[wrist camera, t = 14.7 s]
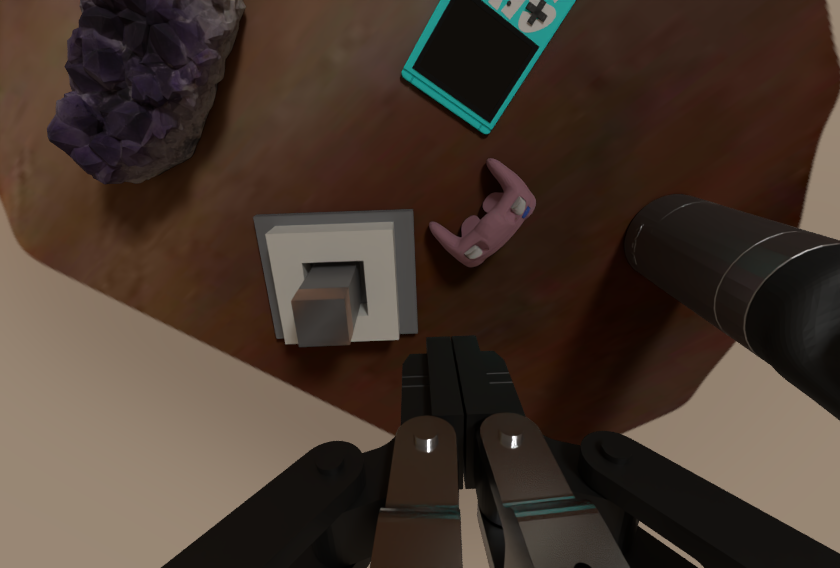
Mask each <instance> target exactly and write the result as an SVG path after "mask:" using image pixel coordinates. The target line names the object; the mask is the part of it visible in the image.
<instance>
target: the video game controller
mask: <svg viewBox="0 0 840 568" xmlns="http://www.w3.org/2000/svg"><path fill="white" fill-rule="evenodd" d="M486 164H487V167H488V169H489V170H490V172H491V173H492V174H493V176H494V177H495V178H496V179H497V181H498V182H499V183H500V185H501V187H502V189H503V191H504V193H499V192H494V193H491V194H490V195H488V196H487V198H486V199H485V201H484V203H483V209H484V211H486V213H487V214H486V215H485V216H484V217H483V218H482V219H481V220H480V219H479V218H478V217H477V216H471V217H469V218H467V219H466V220H465V221H464V222H463V224H462V227H461V231H462V237H458V236H455V235H454V234H452V233H451V232H450V231H448V230H447V229H446V228H444V227H443V226H441V225H440V224H438V223H436V222H430V224H429V228H430V230H431V232H432V234H433V235H434V236H435V238H436V239H437V240H438V241H439V242H440V244H441V245H442V246H443V247H444V248H445V249H446V250H447V251H448V252H449V253H450V254H451V255H452V256H453V257H455V258H456V259H457V260H458V261H459V262H461V263H462V264H464V265H465V266H467V267H475V266H478V265H480V264H481V263H482V262H483V261H484V260H485V259H486V258H487V257H489V256H490V255H492V254H493V253H495V252H496V251H497V250H498V249H499V248H501V247H502V246H503V245H504V244H505V243H506V242H507V241H508V240H509V239H510V238H511V237H512V236H513V235H514V233H515V232H516V231H517V230H518V228H519V227H520V226H521V224H522V223H523V221H524V220H525V219H527V218H528V217H529V216H530V215H531V214H532V212H533V210H534V208H535V205H536V200H535V197H534V196H533V194H532V193H531V192H530V190H529V189H528V187H527V186H526V184H525V183H524V182H523V181H522V179H521V178H520V177H519V176H518V175H517V174H515V173H514V172H513V171H511V170H510V169H509V168H507V167H506V166H505V165H503V164H502V163H501V162H499V161H497V160H495V159H492V158H489V159H487V161H486Z"/></svg>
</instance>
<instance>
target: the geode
mask: <svg viewBox="0 0 840 568" xmlns="http://www.w3.org/2000/svg"><path fill="white" fill-rule="evenodd" d="M80 8H81V11H82V15H81V17H80V19H79V28H77V29H74V30H73V32H72V36H71V37H70V38H69V39H68V40H67V45H68V61H67V63H66V65H65V68H66V70H67V72H68V74H69V78H70V86H71V89H72V92H69V93H66V94H64V98H62V99H61V100H57V102H56V115H55V116H54V118H53V120H52V121H51V123H50V124H49V126H48V128H47V133H48V138H49V141H50V142H52V143H53V144H54V145H56V146H57V147H59V148H60V149H62V150H63V151H64V152H65V153H67V154H68V155H69V156H70V157H71V158H72V159H73V160H74V161H75V162H76V163H77V164H78V165H79V166H80V167H81V168H82V169H83V170H84V171H85V172H86V173H87V174H90V175H92V176H93V178H94V179H96V180H98V181H100V182H102V183H103V184H119V183H123V182H124V181H125V182H132V183H135V184H136V183H142V182H143V181H145V180H146V179H147V180H149V179H150V178H151V177H155V176H157V175H160V174H162V173H163V172H165V171H167V170H168V169H170V168H172V167H174V166H175V165H177V164H180V163H182V162H184V161H186V160H187V159H189V158H190V157H192V155H193V154H194V151H195V148H196V145H197V143H198V141H199V140H200V137H201V134H202V130H203V127H204V124H205V121H206V118H207V115H208V113H209V110H210V109H211V108H212V106H213V102H214V99H215V95H216V91H217V83H218V82H219V81H221V80H222V79H223V78H224V72H225V59H226V58H227V57H228V55H229V54H230V52H231V50H232V48H233V45H234V42H235V39H236V36H237V32H238V29H239V21H240V19H241V17H242V15H243V12H244V10H245V8H246V6H245V4H244V2H243V0H80Z"/></svg>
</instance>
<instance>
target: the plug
mask: <svg viewBox="0 0 840 568" xmlns="http://www.w3.org/2000/svg"><path fill="white" fill-rule="evenodd" d="M361 300H362V288H361V278H360V268H359V261H341V262H315V264H314V265H313V267H312V268H311V270H310V272H309V273H308V275H307V276H306V278H305V279H304V281H303V283H302V284H301V286H300V287H299V289H298V291H297V292H296V294H295V295H294V297H293V298H292V300H291V305H292V310H293V316H294V322H295V327H296V333H297V339H298V344H299V347H313V346H336V345H350V343H351V339H352V335H353V331H354V327H355V323H356V320H357V316H358V312H359V308H360V304H361Z"/></svg>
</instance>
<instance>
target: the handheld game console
mask: <svg viewBox="0 0 840 568" xmlns="http://www.w3.org/2000/svg"><path fill="white" fill-rule="evenodd" d="M575 1H576V0H440V2H439V4H438V5H437V7H436V9H435V11H434V13H433V15H432V16H431V18H430V20H429V22H428V24H427V26H426V27H425V29H424V31H423V33H422V35H421V37H420V38H419V40H418V42H417V44H416V46H415V48H414V49H413V51H412V53H411V55H410V57H409V59H408V60H407V62H406V64H405V66H404V68H403V70H402V77H403V78H404V79H405V80H407V81H408V82H410V83H411V84H413V85H414V86H415V87H417V88H418V89H419V91H421V92H422V93H424V94H425V95H427V96H428V97H431V98H433V99H434V100H435V101H437V102H438V103H440V104H441V105H443V106H444V107H446V108H447V109H448V110H450V111H451V112H453V113H454V114H456V115H457V116H458V117H460V118H461V119H463V120H464V121H466V122H467V123H469V124H470V125H471V126H473V127H474V128H476V129H477V130H479V131H480V132H481V133H483V134H489V133H490V132H491V131H490V130H492V129H493V127H494V126H495V124H496V123H497V121H498V119H499V118H500V116H501V115H502V113H503V112H504V110H505V109H506V107H507V106H508V104H509V103H510V101H511V99H512V98H513V96H514V95H515V93H516V92H517V90H518V89H519V87H520V86H521V84H522V83H523V81H524V79H525V78H526V76H527V75H528V73H529V72H530V70H531V69H532V67H533V66H534V64H535V63H536V61H537V59H538V58H539V56H540V55H541V53H542V52H543V50H544V49H545V47H546V46H547V44H548V43H549V41H550V39H551V38H552V36H553V35H554V33H555V32H556V30H557V29H558V27H559V26H560V24H561V23H562V21H563V19H564V18H565V16H566V15H567V13H568V12H569V10H570V9H571V7H572V6H573V4H574V3H575Z"/></svg>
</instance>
